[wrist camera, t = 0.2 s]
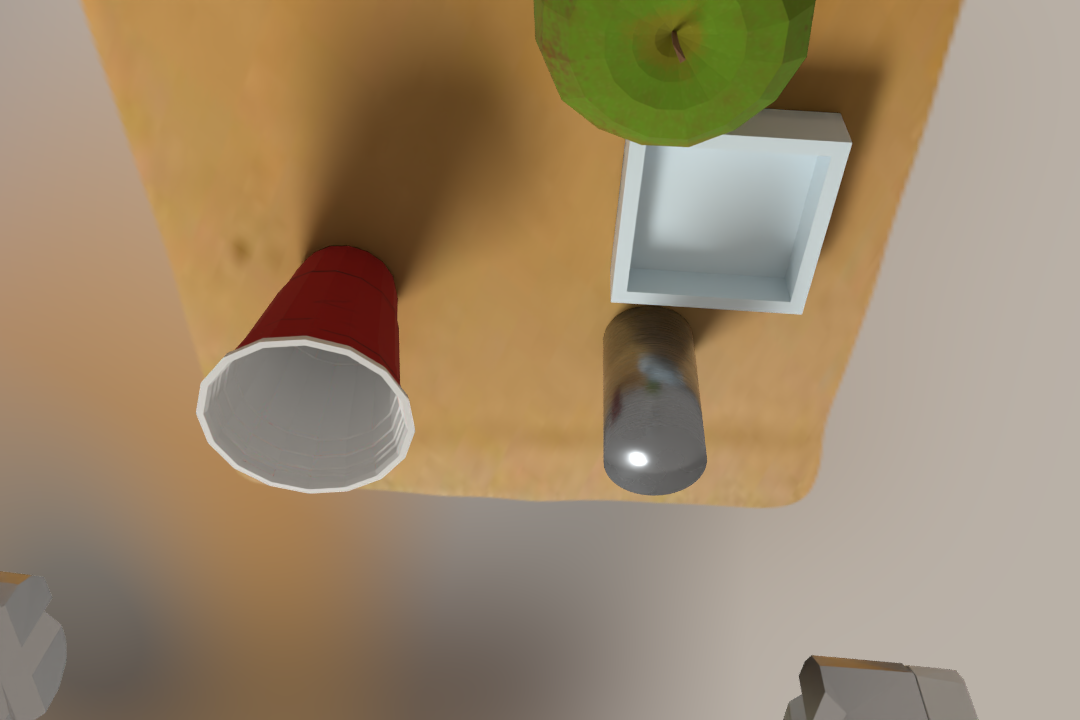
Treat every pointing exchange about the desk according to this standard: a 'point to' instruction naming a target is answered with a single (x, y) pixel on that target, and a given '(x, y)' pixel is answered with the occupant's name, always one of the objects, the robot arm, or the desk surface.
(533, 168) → the desk surface
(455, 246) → the desk surface
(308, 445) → the plastic cup
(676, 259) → the tray
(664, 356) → the tin
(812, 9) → the apple
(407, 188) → the desk surface
